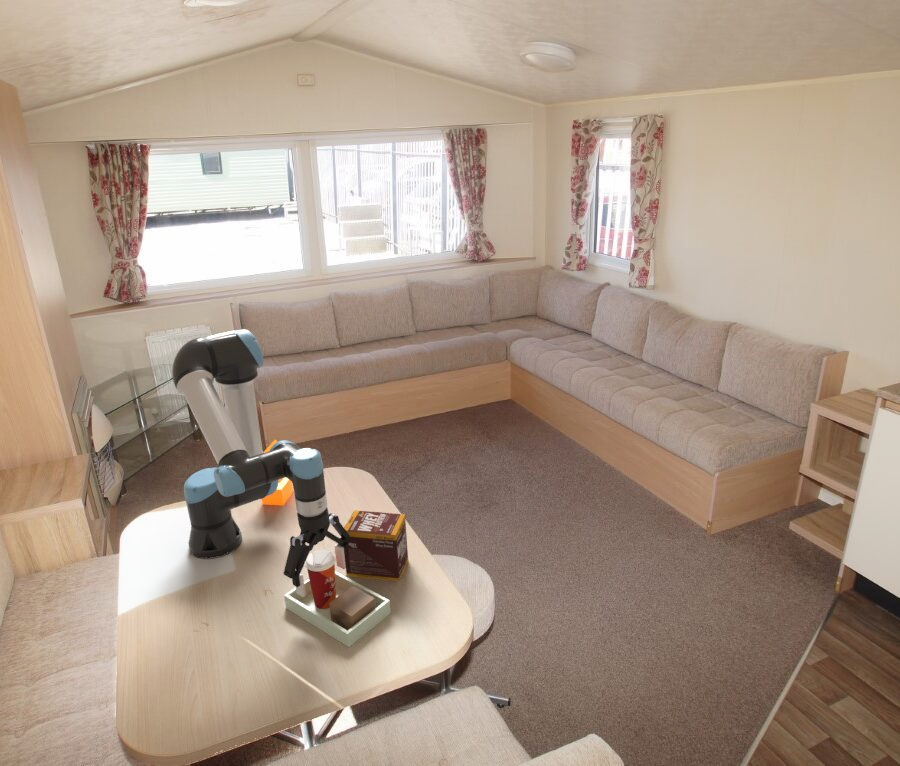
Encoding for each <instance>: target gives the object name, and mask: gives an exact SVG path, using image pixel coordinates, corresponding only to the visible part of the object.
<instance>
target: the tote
mask: <svg viewBox="0 0 900 766" xmlns="http://www.w3.org/2000/svg"><path fill="white" fill-rule="evenodd" d="M335 582H336V598H337V597H338V596H340V595H341V594H342V593H344V592H345V591H346V590H348V589H349V588H350V587H352V586H353V587H355V588H357V589H359V590H361V591H363V592H364V593H366V594H368V595H370V596H372V597H374V598H375V605H376V609H374V610H373V611H372V612H370V613H369V614H368V615H367V616H365V617H364V618H363V619H362V620H360V621H359V622H358V623H357V624H355V625H354V626H353V627H352V628H350V629H349V630H348V631H347V630H346V629H344V628H342V627H341V626H339V625H337V624H336V623H334V622H332V621H331V614H330V608H328V609H319V608H317V607H316V606H315V603H314V599H313V594H312V590H311V585H310V580H309V578H308V579H306V580H304V586H305V593H306V596H305V597H302V596H300V595H299V594H297V593H296V587H294V588H292V589H291V590H290V591H288V592H287V593H285V594H284V595H283V598H284V603H285V609H287V610H288V611H290V612H292V613H293V614H295V615H297V616H298V617H299V618H301V619H303V620H304V621H306V622H307V623H309V624H310V625H312V626H314V627H316V628H317V629H319V630H321V631H322V632H324V633H325V634H327V635H329V636H330V637H332V638H334V639H335V640H336V641H338V642H340V643H341V644H343V645H345V646H346V647H347V648H350V647H352V646H353V645H354V644H355V643H357V642H358V641H359V640H360V639H361V638H362V637H364V636H365V635H366V634H368V633H369V632H370V631H371V630H372V629H374V627H376V626H377V625H379V624H380V623H381V622H382V621H384V619H386V618H387V617H388V616H389V615H391V613H392V611H391V600H390V599H388V598H386V597H385V596H383V595H381V594H379V593H377V592H375V591H373V590H371V589H370V588H368V587H366V586H364V585H362V584H361V583H358V582H357V581H355V580H353V579H351V578H350V577H348V576H345V575H343V574H342V573H340V572H338V571H336V570H335Z"/></svg>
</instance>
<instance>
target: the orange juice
mask: <svg viewBox="0 0 900 766" xmlns="http://www.w3.org/2000/svg"><path fill="white" fill-rule="evenodd" d="M276 442H278V440H276V439H274V440H273V441H272V442H271V443H270V445H269V446H268V447H267V448H266V449H265V450H264V452H268V451H269V450H270V449H271V447H272V446H273V445H274V444H275V443H276ZM293 493H294V488H293V483H292V481H290V480H289V479H288V478H286V477H285V478H282V479H280V480H278V487H277V490H276V491H275V492H274V493H273V494H271V495H269V496H266V497H265V498H263V499H261V504H262V505H271V506H273V505H274V506H285V504H286V503H287V501H288V500H289V499H290V498H291V496H292V495H293Z"/></svg>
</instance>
